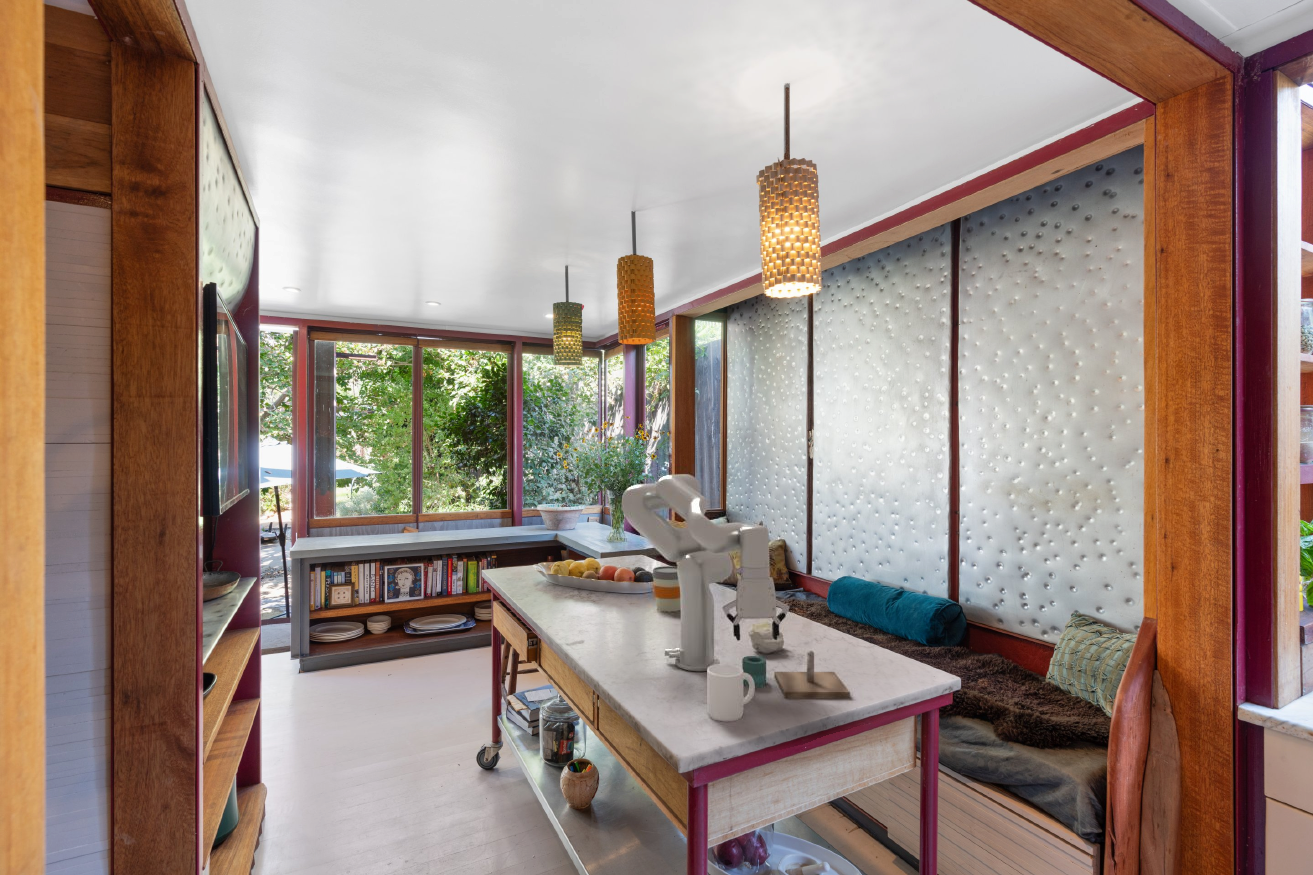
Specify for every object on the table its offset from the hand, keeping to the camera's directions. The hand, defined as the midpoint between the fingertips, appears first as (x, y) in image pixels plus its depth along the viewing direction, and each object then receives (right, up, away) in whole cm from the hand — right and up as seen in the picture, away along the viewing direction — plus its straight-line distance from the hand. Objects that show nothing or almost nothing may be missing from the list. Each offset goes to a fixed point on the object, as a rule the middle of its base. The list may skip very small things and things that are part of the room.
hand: (756, 638), depth 166 cm
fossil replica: (+7, -12, +26) cm, 30 cm away
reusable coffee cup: (-21, -13, +75) cm, 79 cm away
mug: (-9, -12, -19) cm, 24 cm away
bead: (-1, -12, 0) cm, 12 cm away
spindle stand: (+13, -12, -3) cm, 18 cm away
